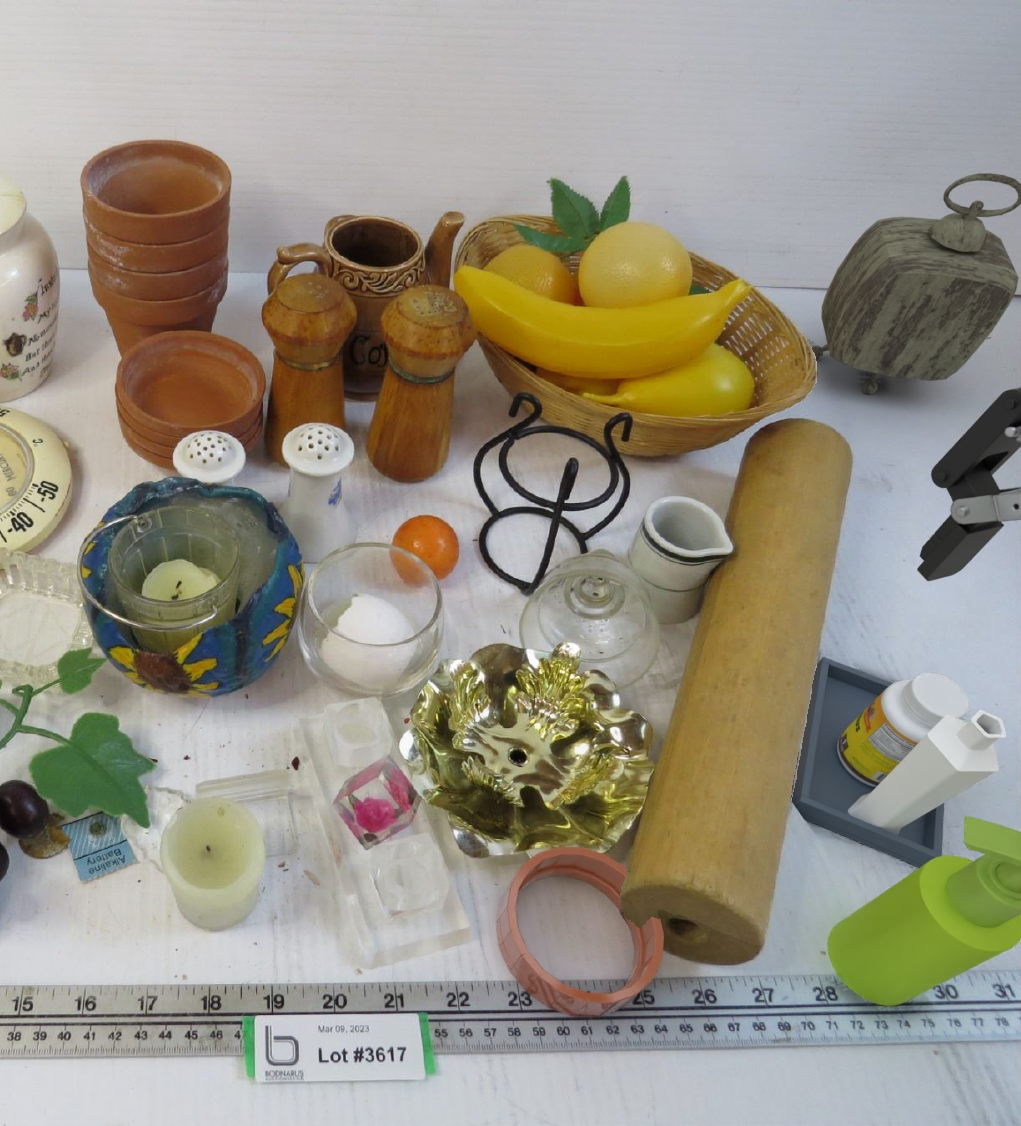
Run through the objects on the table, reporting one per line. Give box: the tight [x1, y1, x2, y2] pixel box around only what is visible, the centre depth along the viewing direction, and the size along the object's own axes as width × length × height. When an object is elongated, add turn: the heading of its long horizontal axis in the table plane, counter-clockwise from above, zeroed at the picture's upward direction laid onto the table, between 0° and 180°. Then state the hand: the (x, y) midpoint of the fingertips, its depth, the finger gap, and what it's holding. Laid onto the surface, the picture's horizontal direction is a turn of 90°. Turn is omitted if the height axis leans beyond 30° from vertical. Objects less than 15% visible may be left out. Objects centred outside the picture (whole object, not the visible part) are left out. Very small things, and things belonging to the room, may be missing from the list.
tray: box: [791, 656, 945, 869], centre depth 78 cm, size 15×10×2 cm
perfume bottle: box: [848, 709, 1007, 835], centre depth 69 cm, size 5×4×15 cm
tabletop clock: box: [811, 172, 1021, 395], centre depth 100 cm, size 14×9×25 cm, turn 77°
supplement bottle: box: [837, 672, 970, 787], centre depth 74 cm, size 6×6×10 cm
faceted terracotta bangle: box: [495, 846, 665, 1018], centre depth 66 cm, size 10×10×5 cm
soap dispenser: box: [827, 815, 1021, 1007], centre depth 60 cm, size 6×7×20 cm
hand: (999, 640), depth 46 cm, fingers open, 8 cm apart
